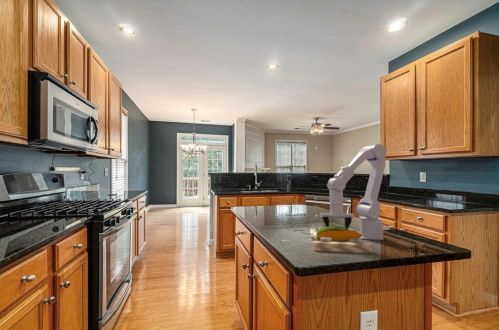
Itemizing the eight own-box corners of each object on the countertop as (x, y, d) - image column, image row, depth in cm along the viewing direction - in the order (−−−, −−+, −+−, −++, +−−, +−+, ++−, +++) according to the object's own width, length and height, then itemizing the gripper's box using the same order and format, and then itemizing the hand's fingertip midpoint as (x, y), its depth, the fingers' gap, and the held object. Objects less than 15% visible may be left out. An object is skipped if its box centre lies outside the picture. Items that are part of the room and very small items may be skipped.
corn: (314, 224, 113) (357, 223, 114) (313, 240, 114) (357, 239, 114) (318, 229, 106) (365, 228, 106) (318, 246, 106) (365, 245, 107)
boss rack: (368, 247, 103) (368, 238, 103) (373, 253, 96) (372, 243, 96) (313, 245, 107) (313, 236, 107) (314, 250, 100) (314, 240, 101)
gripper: (351, 203, 117) (352, 232, 116) (319, 202, 120) (320, 231, 119) (354, 205, 110) (355, 236, 109) (320, 204, 113) (321, 234, 112)
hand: (337, 233), depth 114 cm, fingers open, 7 cm apart
